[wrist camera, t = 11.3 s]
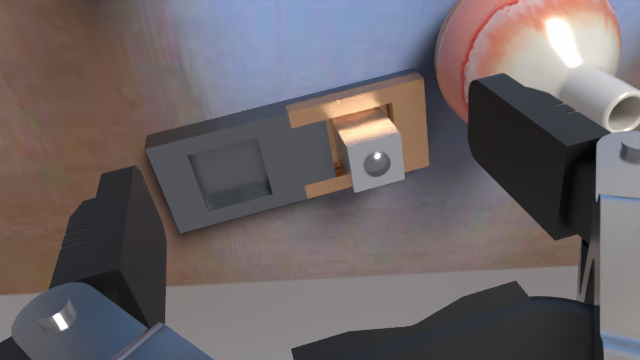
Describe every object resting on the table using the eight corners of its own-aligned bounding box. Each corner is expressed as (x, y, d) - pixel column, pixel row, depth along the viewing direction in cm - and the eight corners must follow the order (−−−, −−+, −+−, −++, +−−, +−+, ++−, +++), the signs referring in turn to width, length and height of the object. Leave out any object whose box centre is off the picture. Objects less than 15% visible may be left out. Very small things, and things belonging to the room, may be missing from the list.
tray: (180, 217, 49) (180, 233, 47) (147, 135, 44) (145, 149, 42) (419, 153, 51) (429, 165, 49) (413, 68, 46) (423, 78, 44)
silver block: (338, 161, 48) (355, 194, 43) (331, 118, 46) (347, 149, 41) (384, 149, 48) (405, 180, 44) (379, 106, 46) (401, 134, 41)
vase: (449, 131, 50) (556, 241, 36) (387, 14, 43) (490, 93, 28) (573, 50, 49) (739, 132, 34) (531, -86, 41) (720, -56, 27)
